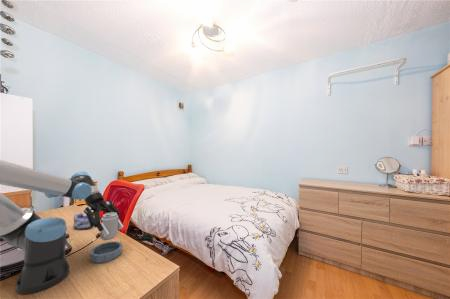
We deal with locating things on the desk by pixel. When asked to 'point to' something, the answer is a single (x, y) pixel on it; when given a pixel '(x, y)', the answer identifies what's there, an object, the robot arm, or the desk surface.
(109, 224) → the can
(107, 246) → the bowl
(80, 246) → the desk surface
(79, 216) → the mineral
